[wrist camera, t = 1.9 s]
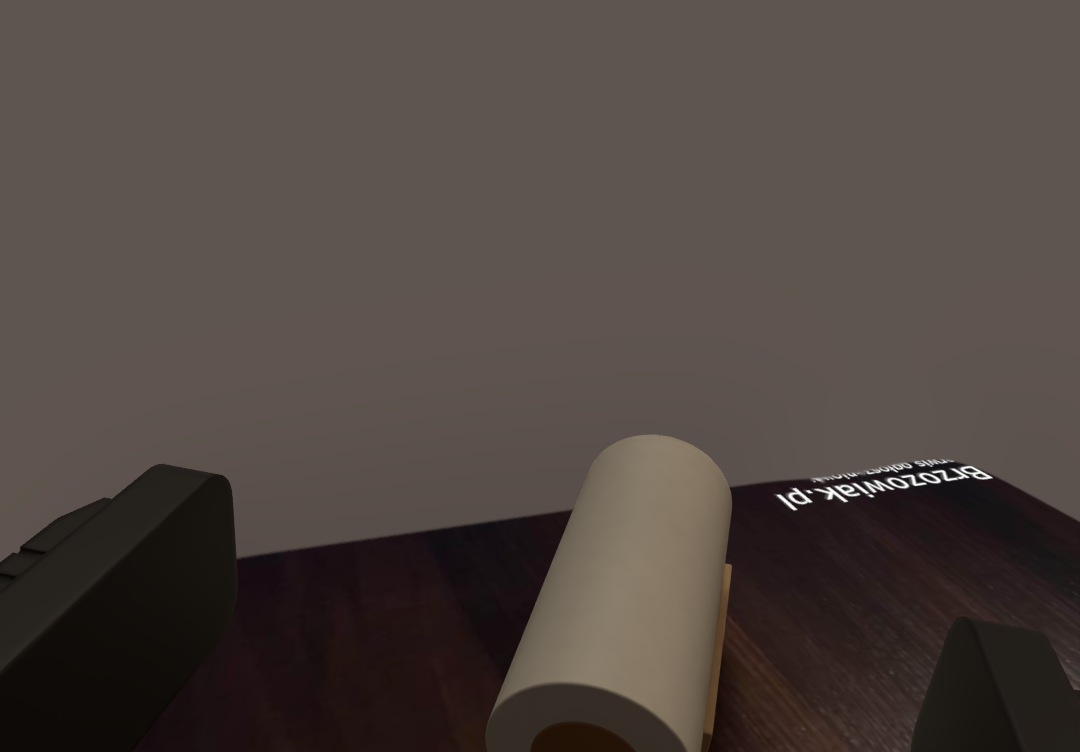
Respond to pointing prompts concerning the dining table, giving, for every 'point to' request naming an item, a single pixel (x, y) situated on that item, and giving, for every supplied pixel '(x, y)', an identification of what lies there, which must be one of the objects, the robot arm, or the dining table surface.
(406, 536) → the dining table surface
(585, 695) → the paper towel roll
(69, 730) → the robot arm
